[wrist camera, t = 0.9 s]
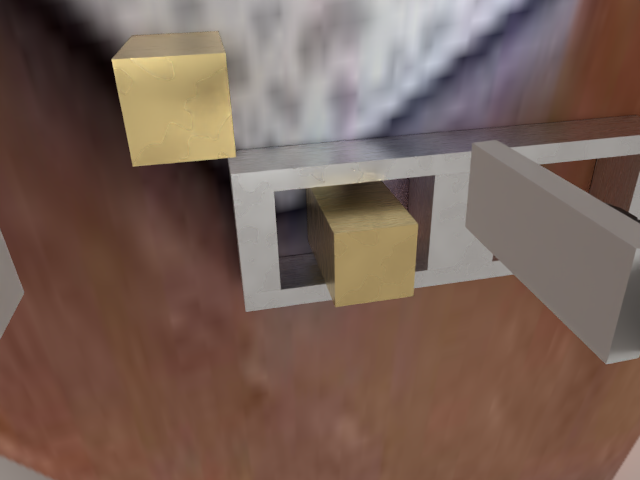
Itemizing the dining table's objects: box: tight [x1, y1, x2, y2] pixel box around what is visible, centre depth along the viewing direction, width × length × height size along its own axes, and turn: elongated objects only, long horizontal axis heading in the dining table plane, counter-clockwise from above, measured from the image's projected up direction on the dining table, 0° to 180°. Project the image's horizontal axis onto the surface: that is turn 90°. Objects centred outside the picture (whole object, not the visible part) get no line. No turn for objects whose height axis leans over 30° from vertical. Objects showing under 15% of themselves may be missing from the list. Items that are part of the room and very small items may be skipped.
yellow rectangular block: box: [112, 31, 236, 166], centre depth 26 cm, size 4×4×8 cm
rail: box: [228, 115, 640, 312], centre depth 35 cm, size 9×28×4 cm, turn 92°
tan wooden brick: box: [306, 181, 418, 307], centre depth 32 cm, size 4×4×8 cm
